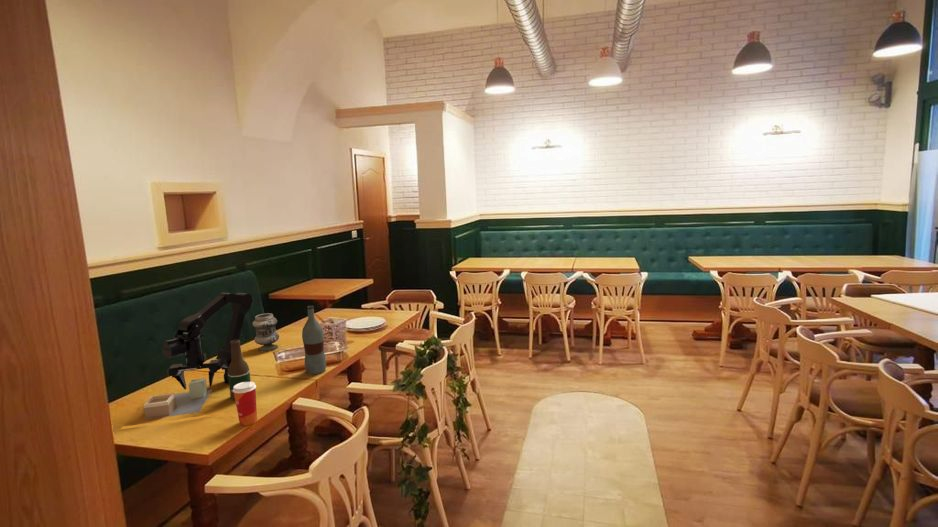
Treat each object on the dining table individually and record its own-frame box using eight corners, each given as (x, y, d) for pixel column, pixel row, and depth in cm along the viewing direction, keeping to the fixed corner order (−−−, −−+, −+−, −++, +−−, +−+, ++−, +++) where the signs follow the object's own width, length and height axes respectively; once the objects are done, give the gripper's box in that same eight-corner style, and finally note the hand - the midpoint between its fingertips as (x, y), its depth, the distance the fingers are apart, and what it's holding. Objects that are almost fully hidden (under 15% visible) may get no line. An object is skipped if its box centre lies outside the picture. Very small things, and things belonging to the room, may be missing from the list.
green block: (207, 392, 204) (205, 378, 203) (204, 397, 199) (202, 382, 198) (193, 393, 203) (192, 379, 202) (190, 398, 198) (188, 384, 197)
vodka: (330, 367, 229) (325, 304, 224) (320, 375, 220) (314, 309, 215) (312, 366, 231) (306, 303, 226) (301, 374, 222) (294, 308, 218)
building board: (213, 391, 207) (211, 377, 206) (199, 414, 186) (197, 398, 185) (164, 397, 203) (162, 383, 202) (144, 422, 182) (142, 406, 181)
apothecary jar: (263, 344, 267) (259, 312, 264) (284, 344, 265) (281, 312, 263) (250, 352, 255) (246, 318, 252) (272, 352, 254) (269, 318, 251)
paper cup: (241, 418, 182) (236, 381, 180) (262, 416, 182) (258, 380, 180) (233, 428, 174) (228, 390, 172) (255, 426, 175) (251, 388, 172)
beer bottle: (256, 395, 201) (250, 338, 197) (242, 404, 194) (235, 344, 190) (241, 393, 204) (234, 337, 200) (226, 401, 196) (219, 343, 193)
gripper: (223, 341, 208) (227, 377, 211) (173, 347, 204) (178, 383, 206) (217, 349, 197) (221, 387, 200) (164, 355, 193) (169, 394, 195)
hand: (198, 387), depth 201 cm, fingers open, 9 cm apart
